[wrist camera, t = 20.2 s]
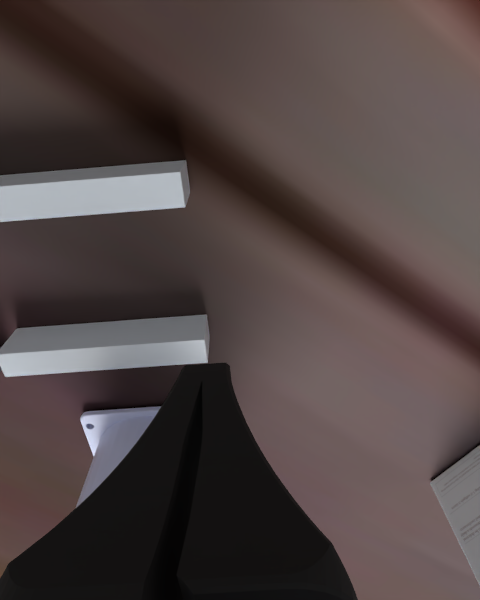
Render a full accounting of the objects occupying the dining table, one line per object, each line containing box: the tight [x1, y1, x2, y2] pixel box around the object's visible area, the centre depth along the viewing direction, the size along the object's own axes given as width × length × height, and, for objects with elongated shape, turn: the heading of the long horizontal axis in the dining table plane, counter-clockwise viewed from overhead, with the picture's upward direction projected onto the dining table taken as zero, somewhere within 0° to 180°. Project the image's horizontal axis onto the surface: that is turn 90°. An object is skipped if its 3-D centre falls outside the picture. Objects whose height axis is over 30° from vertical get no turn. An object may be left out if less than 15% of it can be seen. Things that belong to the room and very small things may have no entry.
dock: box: [0, 160, 210, 377], centre depth 21 cm, size 10×11×2 cm
